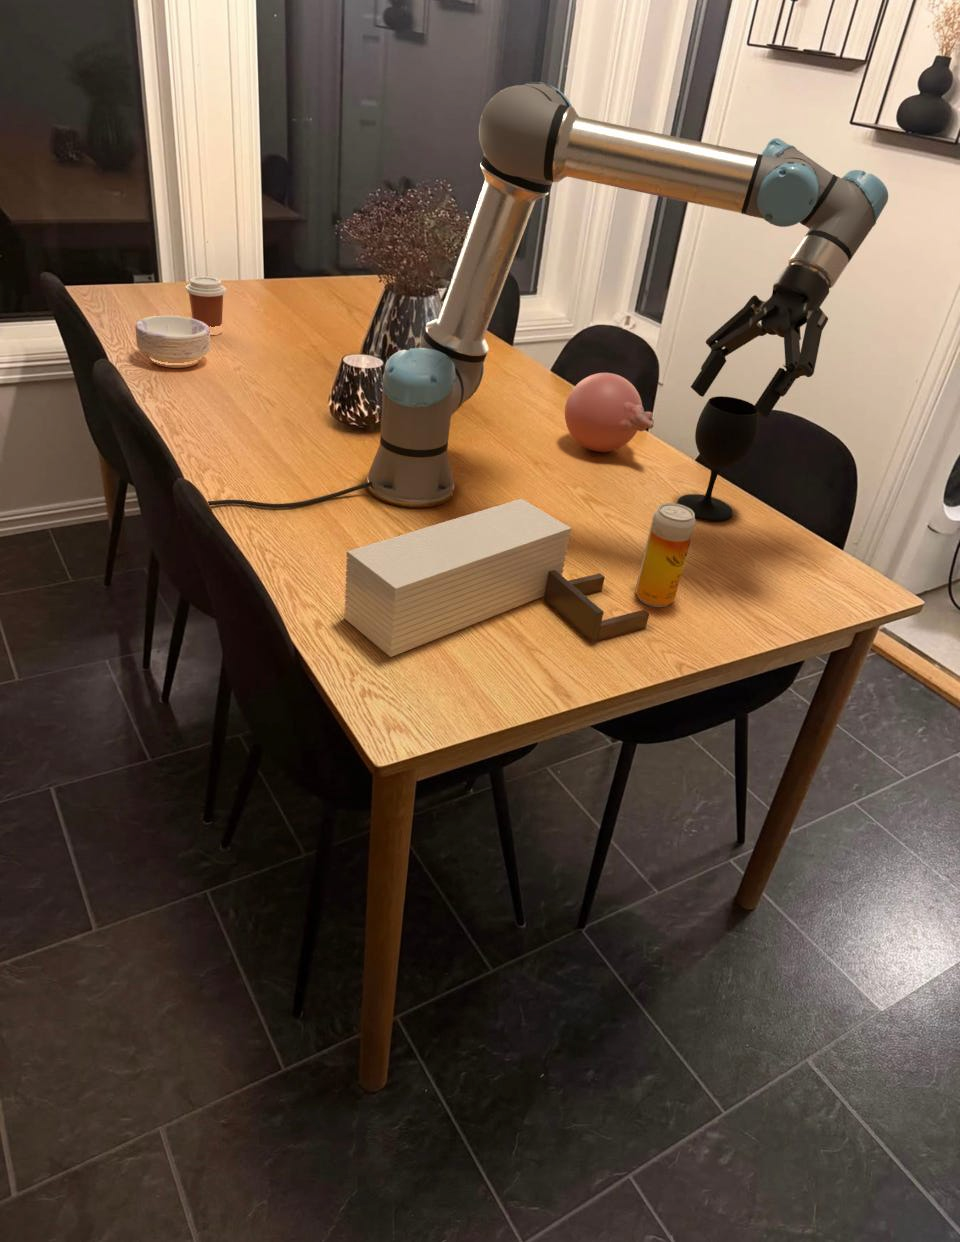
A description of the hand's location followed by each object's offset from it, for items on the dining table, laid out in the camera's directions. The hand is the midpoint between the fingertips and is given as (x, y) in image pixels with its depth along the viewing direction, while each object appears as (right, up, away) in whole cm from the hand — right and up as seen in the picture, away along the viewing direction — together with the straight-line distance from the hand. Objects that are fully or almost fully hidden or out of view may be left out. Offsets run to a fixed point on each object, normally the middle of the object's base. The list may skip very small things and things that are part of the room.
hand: (727, 402), depth 138 cm
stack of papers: (-40, -30, -4) cm, 51 cm away
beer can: (-10, -29, +4) cm, 31 cm away
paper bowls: (-104, +24, +65) cm, 125 cm away
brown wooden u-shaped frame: (-20, -31, -1) cm, 37 cm away
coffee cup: (-102, +36, +83) cm, 137 cm away
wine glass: (+5, -12, +33) cm, 35 cm away
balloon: (-12, +1, +49) cm, 51 cm away
